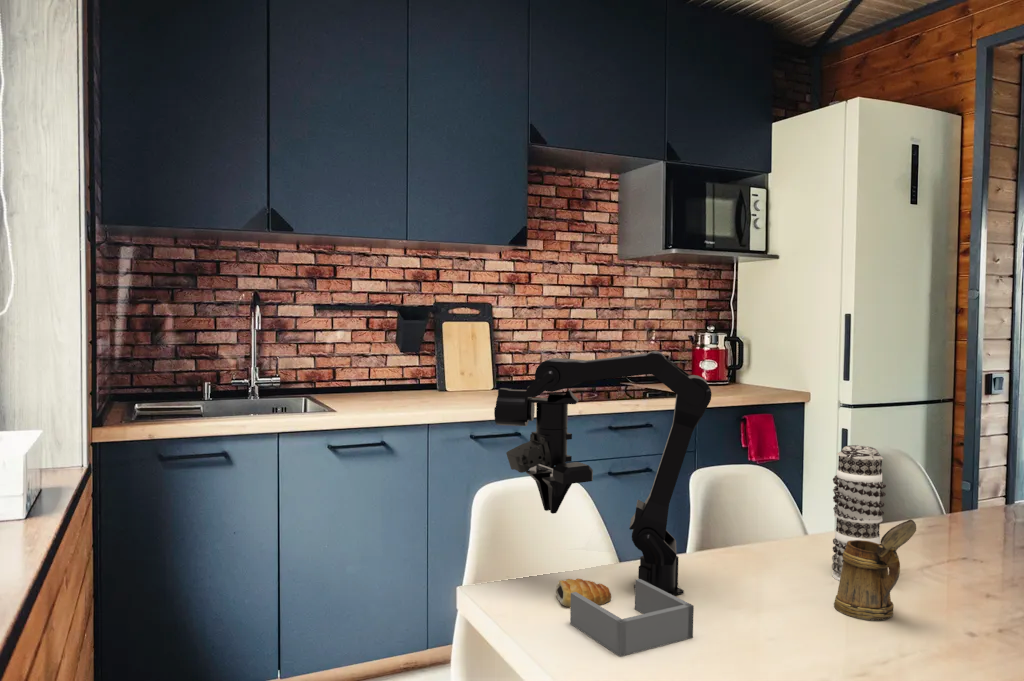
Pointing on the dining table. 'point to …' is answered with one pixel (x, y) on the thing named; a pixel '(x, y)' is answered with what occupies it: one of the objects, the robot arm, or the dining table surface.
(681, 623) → the box
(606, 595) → the pastry
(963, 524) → the dining table surface
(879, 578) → the wooden mug
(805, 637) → the dining table surface
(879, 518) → the decorative candle
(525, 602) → the dining table surface
